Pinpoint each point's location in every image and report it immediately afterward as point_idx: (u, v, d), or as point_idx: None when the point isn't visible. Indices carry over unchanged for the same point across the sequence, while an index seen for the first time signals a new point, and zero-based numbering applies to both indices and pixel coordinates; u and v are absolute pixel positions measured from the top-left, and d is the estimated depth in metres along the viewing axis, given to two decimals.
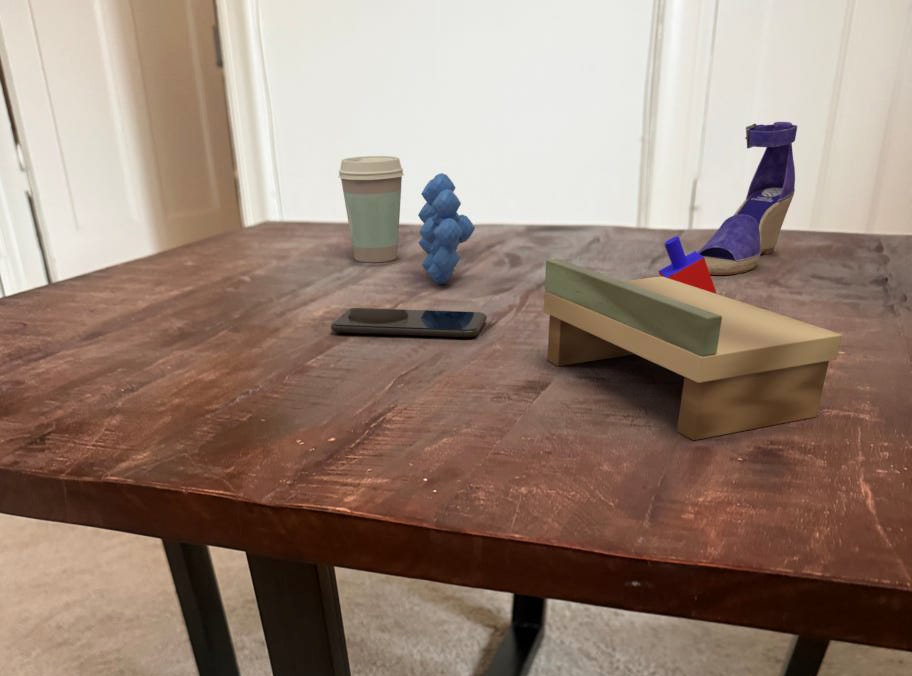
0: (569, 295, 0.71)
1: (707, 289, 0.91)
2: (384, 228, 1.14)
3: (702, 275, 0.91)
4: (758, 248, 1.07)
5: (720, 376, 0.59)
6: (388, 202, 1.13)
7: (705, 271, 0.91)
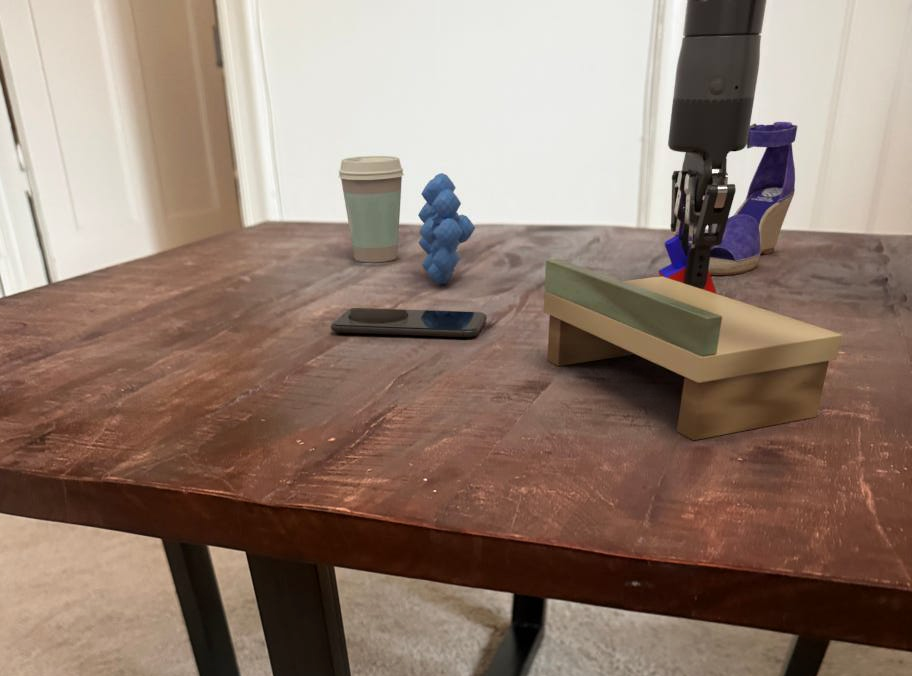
0: (569, 295, 0.71)
1: (707, 289, 0.91)
2: (384, 228, 1.14)
3: None
4: (758, 248, 1.07)
5: (720, 376, 0.59)
6: (388, 202, 1.13)
7: None
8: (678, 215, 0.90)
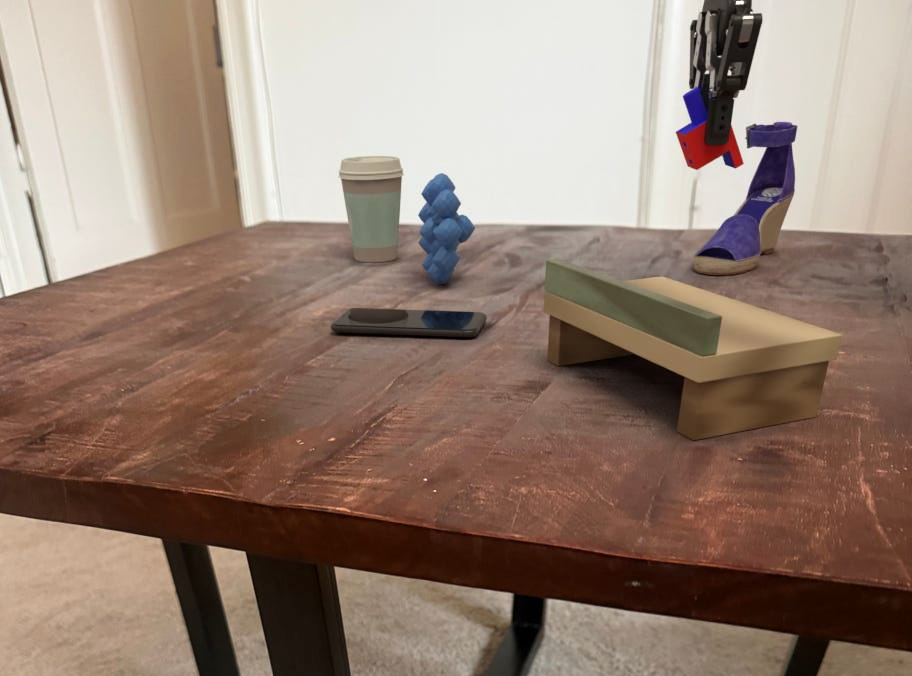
0: (569, 295, 0.71)
1: (730, 147, 0.84)
2: (384, 228, 1.14)
3: None
4: (758, 248, 1.07)
5: (720, 376, 0.59)
6: (388, 202, 1.13)
7: None
8: (697, 65, 0.83)
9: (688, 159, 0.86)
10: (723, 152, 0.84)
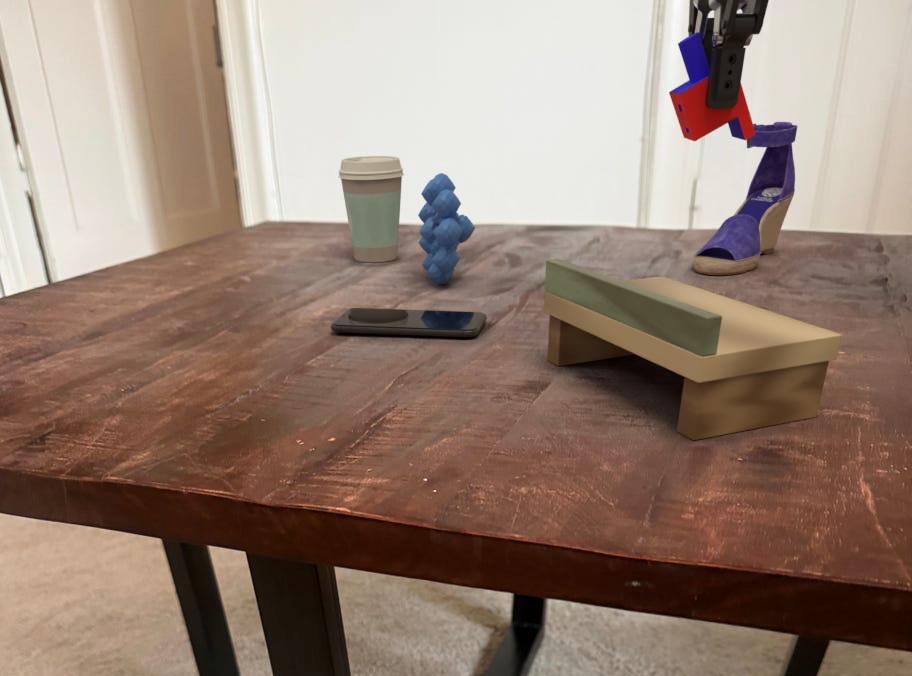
0: (569, 295, 0.71)
1: (738, 112, 0.65)
2: (384, 228, 1.14)
3: None
4: (758, 248, 1.07)
5: (720, 376, 0.59)
6: (388, 202, 1.13)
7: None
8: (699, 4, 0.64)
9: (684, 128, 0.67)
10: (729, 118, 0.65)
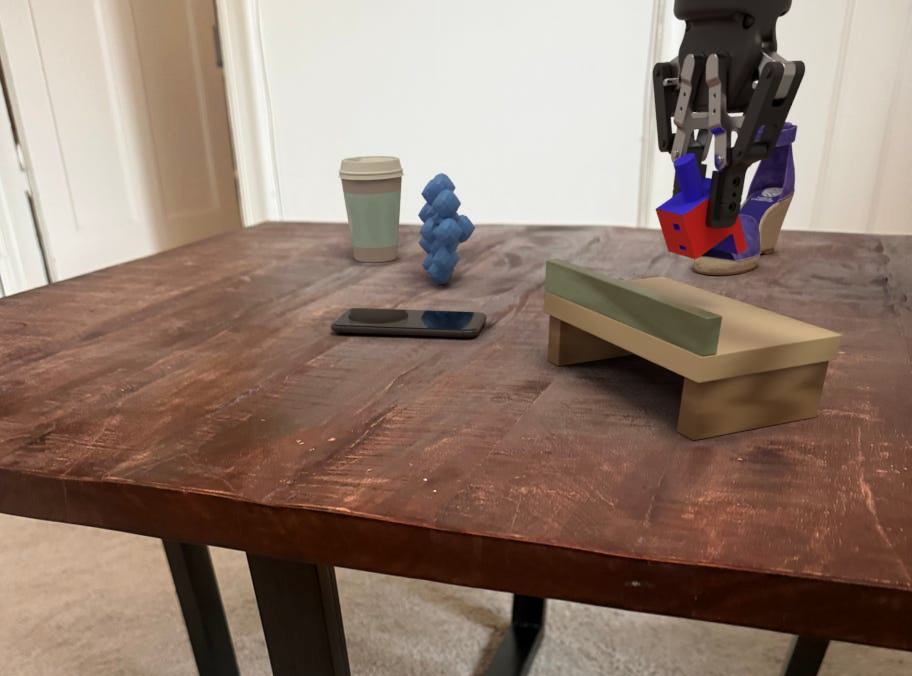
0: (569, 295, 0.71)
1: (733, 229, 0.64)
2: (384, 228, 1.14)
3: None
4: (758, 248, 1.07)
5: (720, 376, 0.59)
6: (388, 202, 1.13)
7: None
8: (684, 124, 0.62)
9: (676, 244, 0.66)
10: (725, 235, 0.64)
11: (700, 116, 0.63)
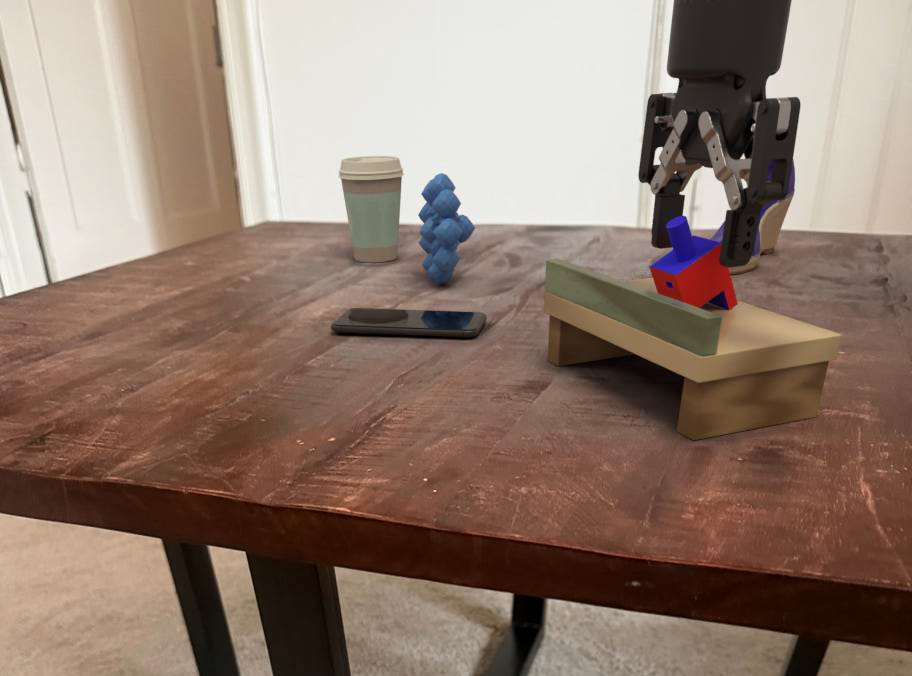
0: (569, 295, 0.71)
1: (724, 286, 0.66)
2: (384, 228, 1.14)
3: (719, 268, 0.65)
4: (758, 248, 1.07)
5: (720, 376, 0.59)
6: (388, 202, 1.13)
7: None
8: (667, 167, 0.65)
9: None
10: (717, 292, 0.67)
11: (684, 158, 0.65)
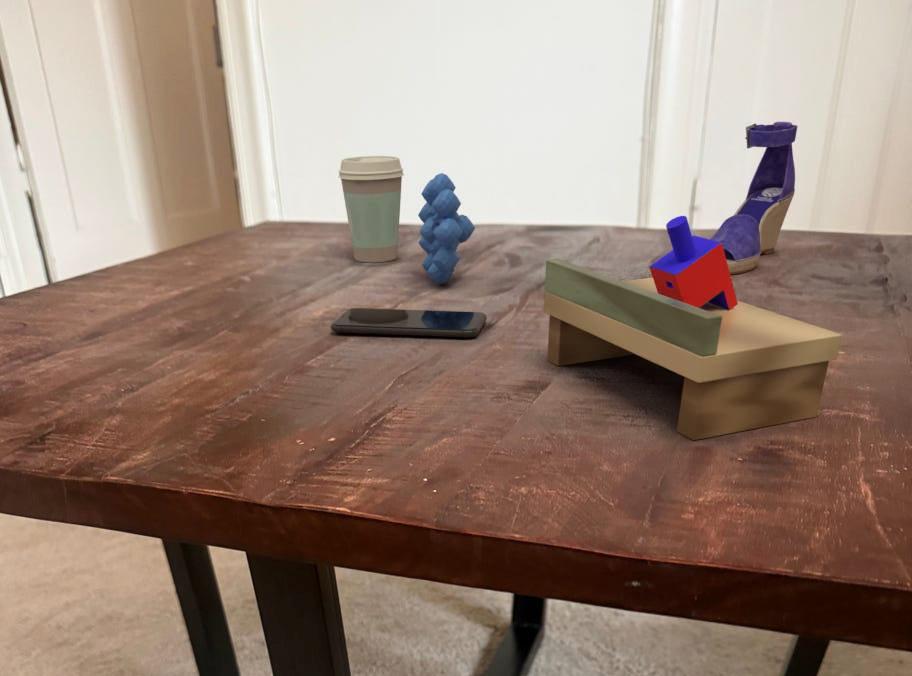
0: (569, 295, 0.71)
1: (724, 286, 0.66)
2: (384, 228, 1.14)
3: (719, 268, 0.65)
4: (758, 248, 1.07)
5: (720, 376, 0.59)
6: (388, 202, 1.13)
7: (722, 262, 0.65)
8: None
9: None
10: (717, 292, 0.67)
11: None
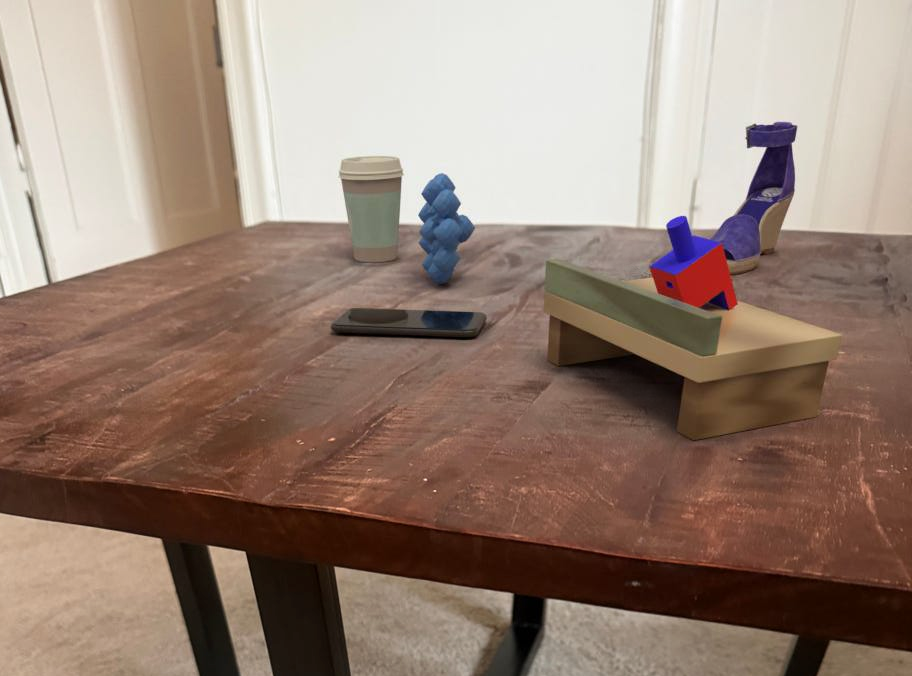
0: (569, 295, 0.71)
1: (724, 286, 0.66)
2: (384, 228, 1.14)
3: (719, 268, 0.65)
4: (758, 248, 1.07)
5: (720, 376, 0.59)
6: (388, 202, 1.13)
7: (722, 262, 0.65)
8: None
9: None
10: (717, 292, 0.67)
11: None
